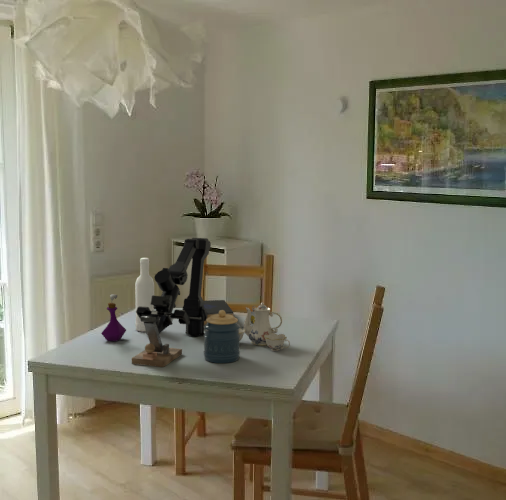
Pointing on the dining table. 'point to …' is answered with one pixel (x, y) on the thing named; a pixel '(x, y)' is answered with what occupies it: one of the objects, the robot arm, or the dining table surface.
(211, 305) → the book
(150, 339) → the lever
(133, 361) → the board
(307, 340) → the dining table surface
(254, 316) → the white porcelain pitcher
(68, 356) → the dining table surface
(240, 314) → the dining table surface
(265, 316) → the chinaware
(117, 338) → the perfume bottle
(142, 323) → the bottle
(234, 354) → the canister
